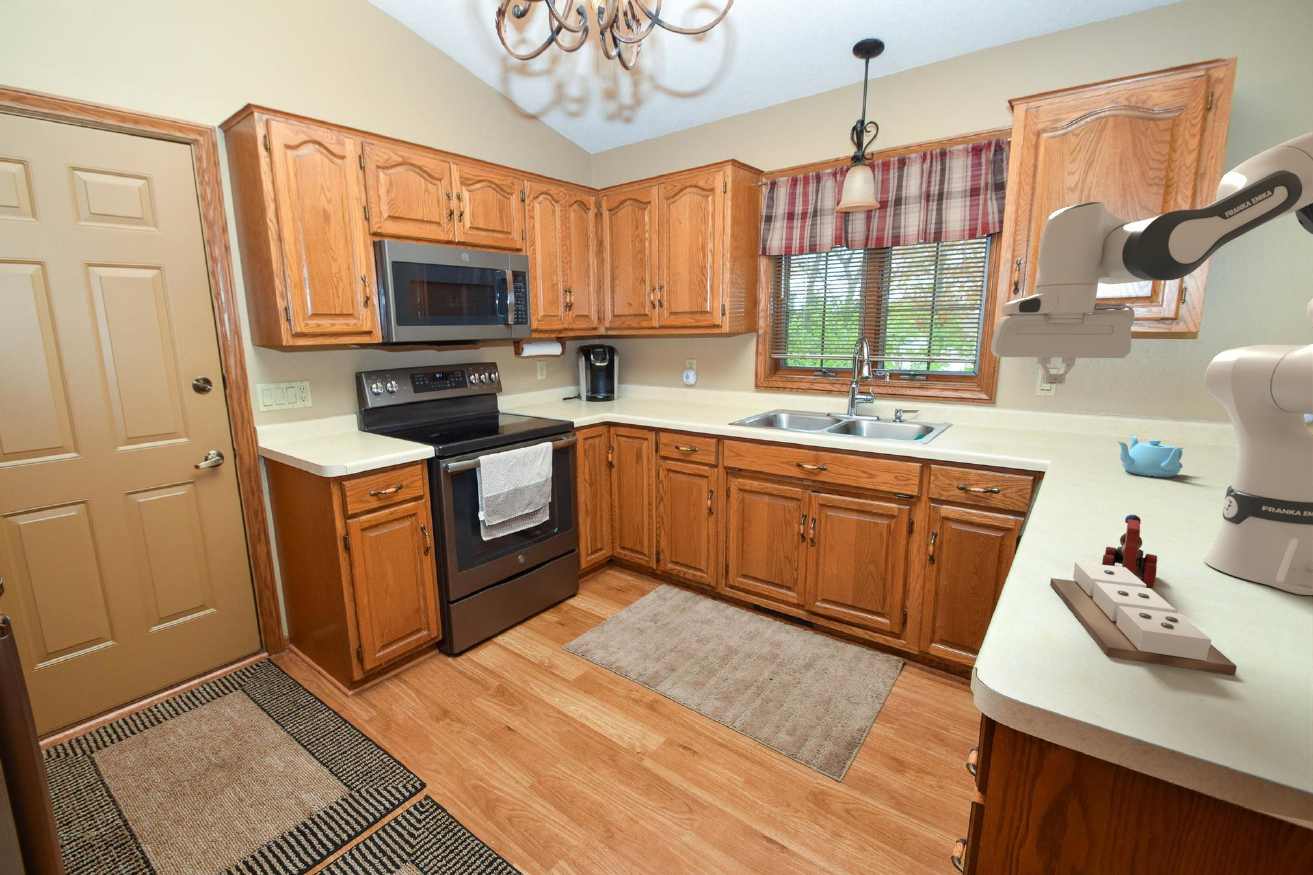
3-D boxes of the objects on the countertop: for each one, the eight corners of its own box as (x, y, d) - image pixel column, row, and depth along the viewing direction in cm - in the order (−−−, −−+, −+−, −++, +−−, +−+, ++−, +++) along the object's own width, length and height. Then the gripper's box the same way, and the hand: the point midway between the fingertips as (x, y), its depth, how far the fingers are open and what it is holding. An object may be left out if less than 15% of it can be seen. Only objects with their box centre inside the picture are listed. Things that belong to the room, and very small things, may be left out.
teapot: (1188, 475, 167) (1194, 441, 166) (1176, 482, 158) (1183, 446, 156) (1125, 466, 179) (1130, 434, 177) (1111, 472, 170) (1116, 439, 168)
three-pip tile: (1176, 633, 75) (1180, 612, 75) (1207, 660, 69) (1211, 638, 68) (1115, 624, 77) (1118, 604, 77) (1139, 650, 71) (1143, 628, 70)
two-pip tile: (1147, 606, 83) (1150, 587, 82) (1172, 628, 76) (1175, 608, 76) (1092, 599, 85) (1095, 580, 84) (1111, 620, 78) (1114, 600, 78)
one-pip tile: (1122, 583, 90) (1125, 566, 90) (1143, 602, 84) (1146, 583, 83) (1072, 577, 92) (1075, 560, 92) (1088, 595, 86) (1091, 577, 85)
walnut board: (1146, 596, 89) (1149, 577, 88) (1234, 675, 68) (1240, 650, 68) (1049, 584, 93) (1052, 566, 92) (1106, 655, 73) (1110, 632, 72)
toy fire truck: (1154, 571, 99) (1164, 514, 97) (1153, 595, 89) (1164, 533, 88) (1103, 561, 103) (1112, 506, 101) (1097, 583, 94) (1107, 523, 92)
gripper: (1127, 303, 97) (1115, 384, 100) (992, 305, 104) (984, 381, 106) (1145, 301, 91) (1132, 387, 94) (1002, 303, 98) (993, 383, 100)
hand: (1053, 383), depth 100 cm, fingers closed
